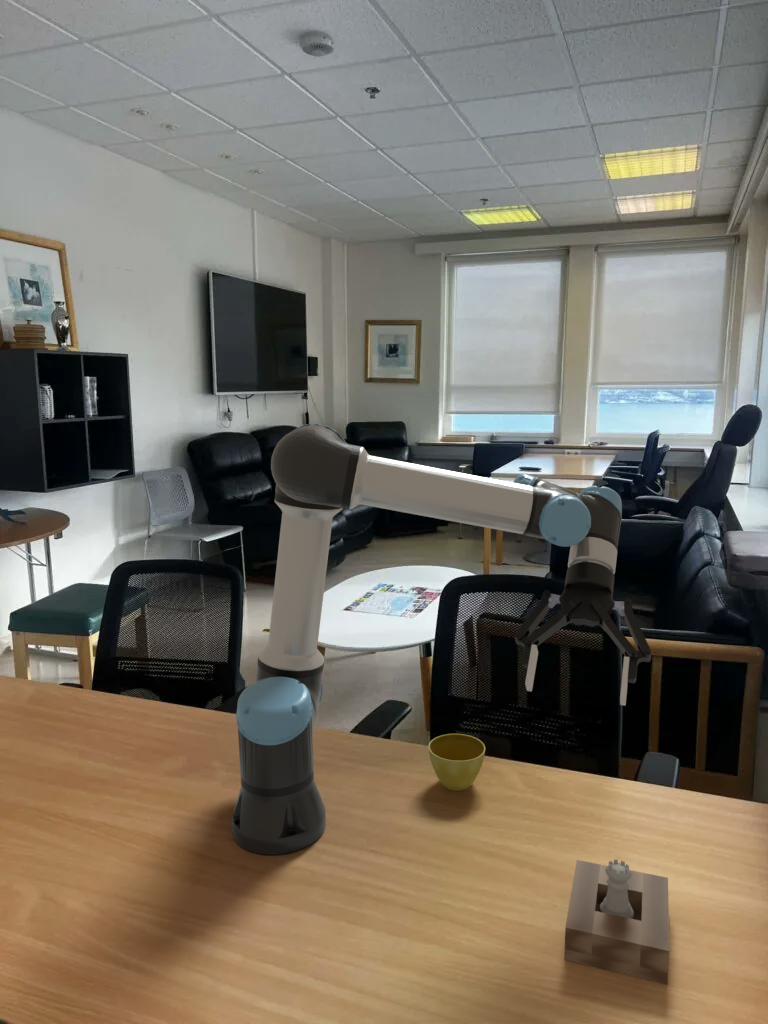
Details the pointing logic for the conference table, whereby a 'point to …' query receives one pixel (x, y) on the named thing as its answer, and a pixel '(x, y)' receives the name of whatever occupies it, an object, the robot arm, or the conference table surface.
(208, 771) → the conference table surface
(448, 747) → the flower pot
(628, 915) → the rook chess piece
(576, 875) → the socket block
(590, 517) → the robot arm
